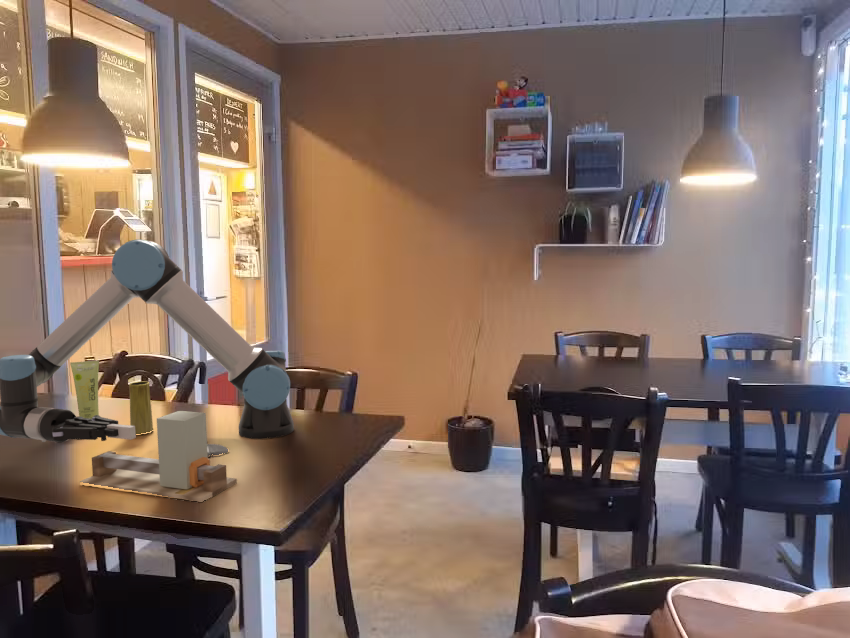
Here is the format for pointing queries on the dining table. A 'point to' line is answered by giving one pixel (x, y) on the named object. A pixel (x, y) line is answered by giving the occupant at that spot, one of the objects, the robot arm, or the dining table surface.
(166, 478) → the sleeve
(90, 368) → the tube
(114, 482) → the rod stand
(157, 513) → the dining table surface
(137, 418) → the vase
